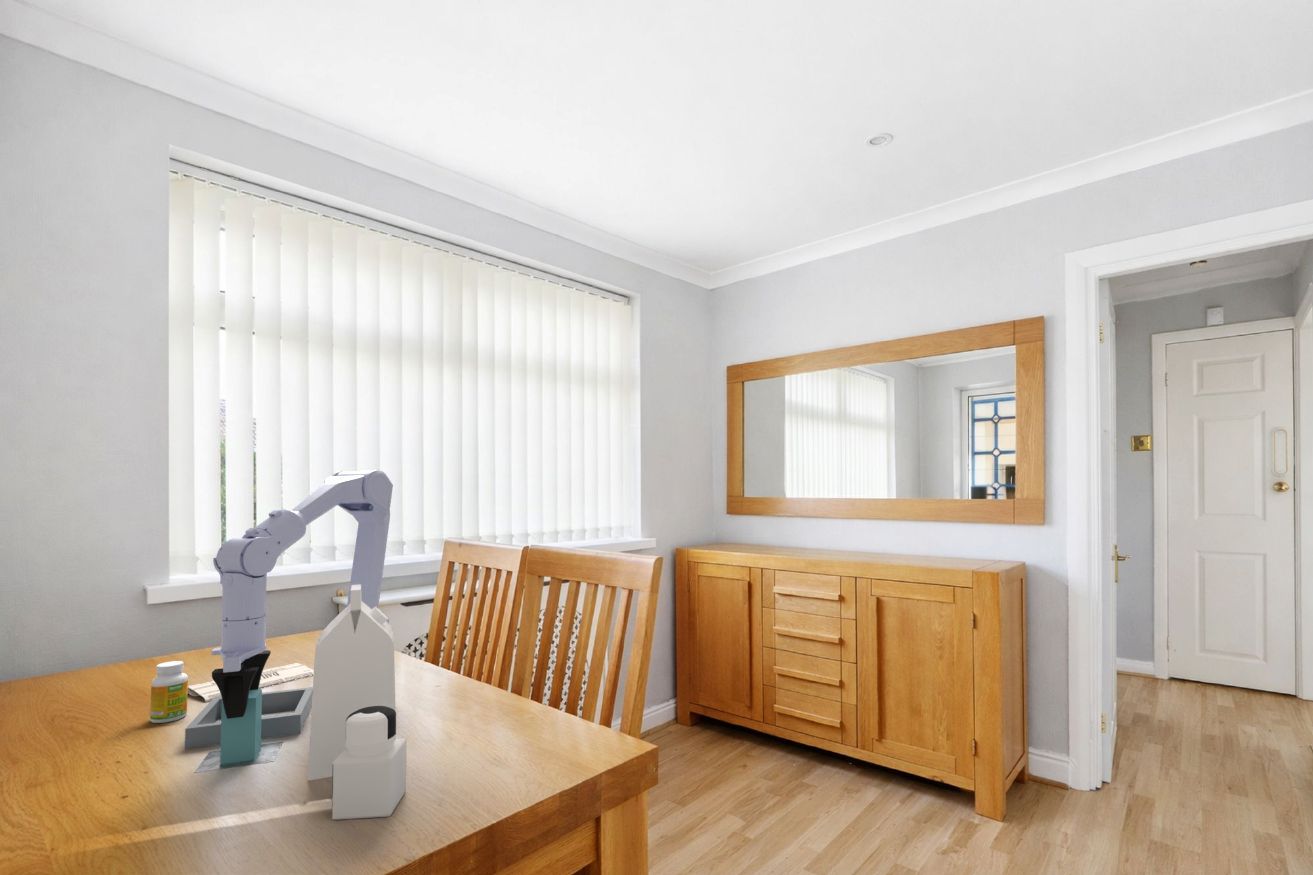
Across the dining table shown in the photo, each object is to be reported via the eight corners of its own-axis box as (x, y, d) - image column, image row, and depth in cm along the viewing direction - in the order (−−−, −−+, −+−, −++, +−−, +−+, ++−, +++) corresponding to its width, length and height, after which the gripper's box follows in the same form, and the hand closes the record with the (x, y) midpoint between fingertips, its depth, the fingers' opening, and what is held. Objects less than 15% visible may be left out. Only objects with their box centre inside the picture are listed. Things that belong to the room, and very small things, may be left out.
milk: (313, 756, 102) (316, 584, 104) (394, 743, 107) (395, 579, 109) (307, 788, 91) (309, 596, 93) (397, 772, 96) (398, 589, 98)
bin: (313, 708, 124) (313, 686, 124) (300, 739, 109) (300, 714, 109) (212, 721, 118) (213, 698, 119) (184, 755, 103) (185, 728, 104)
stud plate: (283, 748, 106) (283, 728, 106) (273, 768, 98) (274, 747, 98) (209, 758, 102) (209, 738, 102) (193, 779, 95) (194, 758, 95)
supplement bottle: (167, 724, 117) (169, 668, 118) (142, 723, 118) (143, 667, 119) (194, 714, 122) (195, 660, 123) (169, 712, 123) (171, 659, 124)
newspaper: (289, 669, 154) (290, 658, 154) (316, 683, 147) (317, 672, 147) (174, 694, 136) (175, 682, 136) (199, 712, 128) (200, 699, 128)
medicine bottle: (352, 794, 89) (353, 702, 90) (406, 791, 90) (407, 700, 91) (330, 821, 82) (332, 721, 83) (390, 817, 83) (391, 718, 84)
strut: (260, 748, 103) (262, 689, 104) (254, 759, 99) (255, 697, 99) (227, 753, 101) (229, 692, 102) (220, 764, 97) (221, 701, 98)
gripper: (225, 611, 107) (223, 698, 106) (199, 629, 93) (196, 728, 92) (275, 607, 109) (273, 692, 108) (256, 624, 96) (254, 721, 95)
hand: (241, 708), depth 101 cm, fingers open, 7 cm apart
